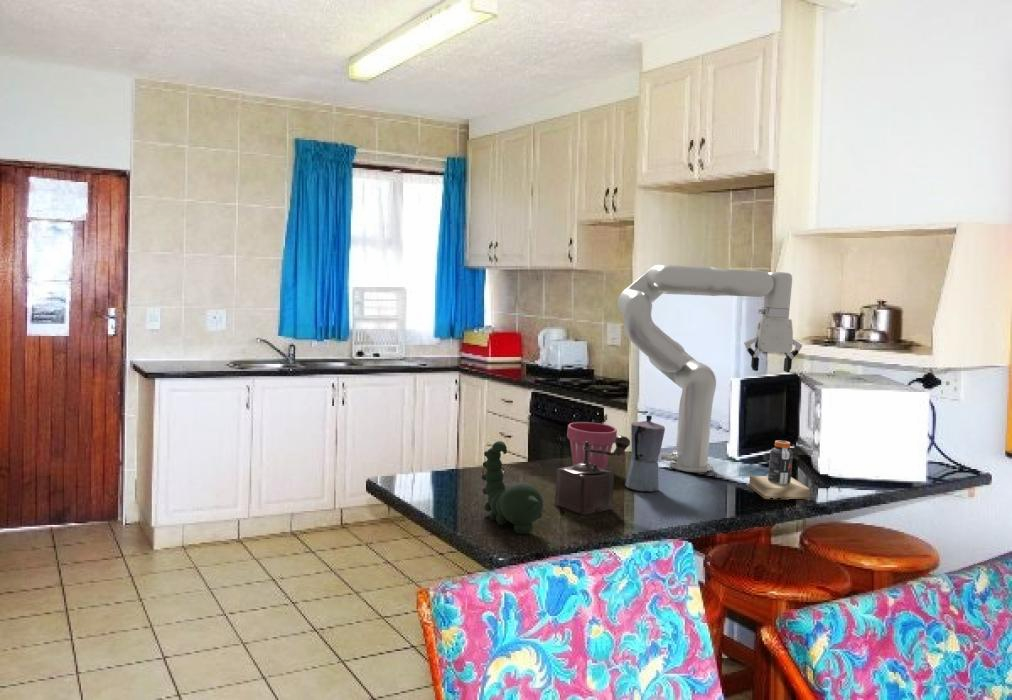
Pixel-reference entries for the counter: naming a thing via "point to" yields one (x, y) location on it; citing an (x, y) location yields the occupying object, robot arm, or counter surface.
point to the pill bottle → (780, 463)
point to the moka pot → (645, 455)
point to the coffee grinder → (587, 483)
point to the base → (778, 488)
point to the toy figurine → (509, 495)
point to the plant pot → (591, 441)
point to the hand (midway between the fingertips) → (770, 371)
